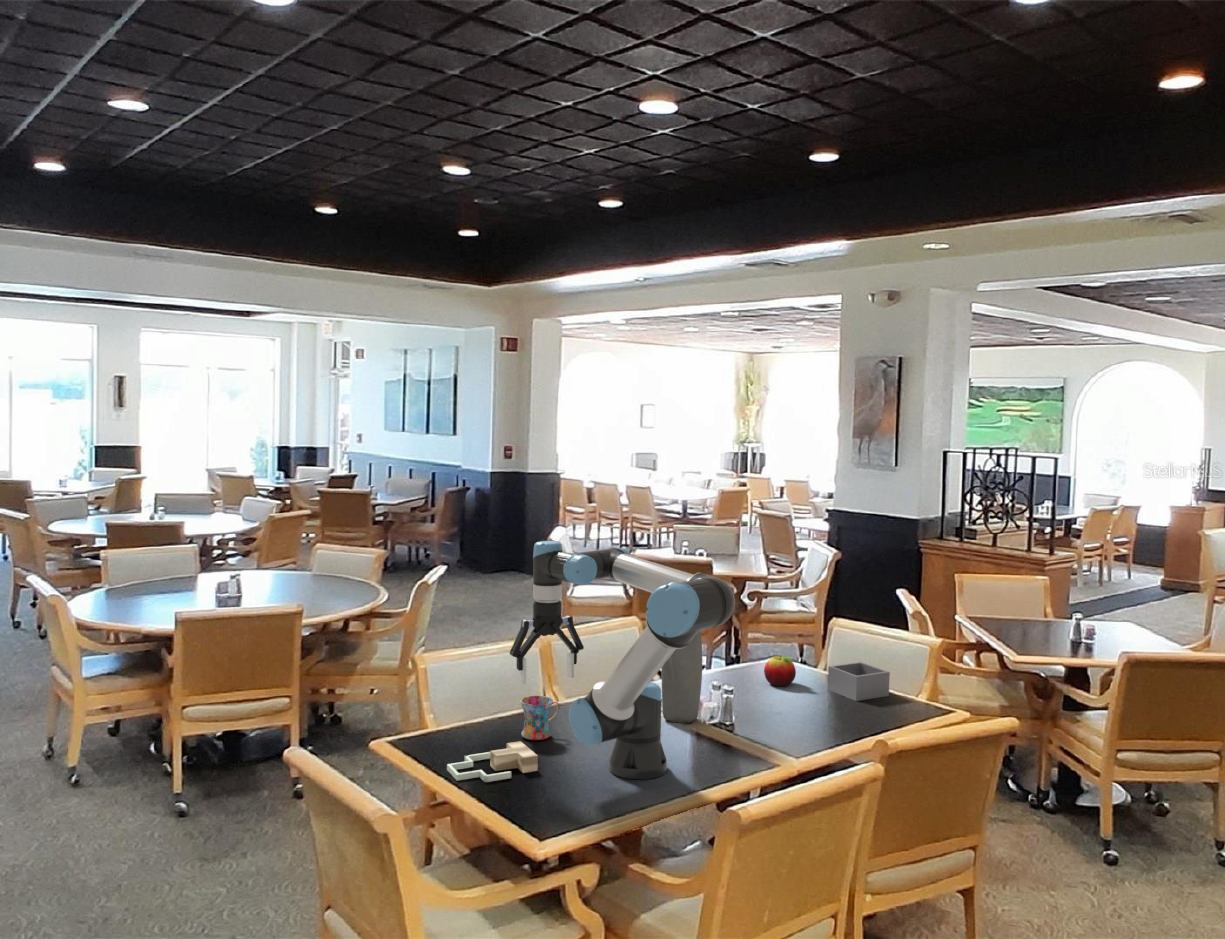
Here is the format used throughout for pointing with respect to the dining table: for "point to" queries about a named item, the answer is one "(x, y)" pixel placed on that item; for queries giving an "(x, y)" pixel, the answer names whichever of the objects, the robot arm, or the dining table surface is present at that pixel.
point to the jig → (478, 773)
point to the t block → (514, 758)
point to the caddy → (858, 681)
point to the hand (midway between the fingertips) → (547, 679)
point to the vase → (682, 682)
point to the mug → (537, 717)
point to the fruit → (780, 671)
